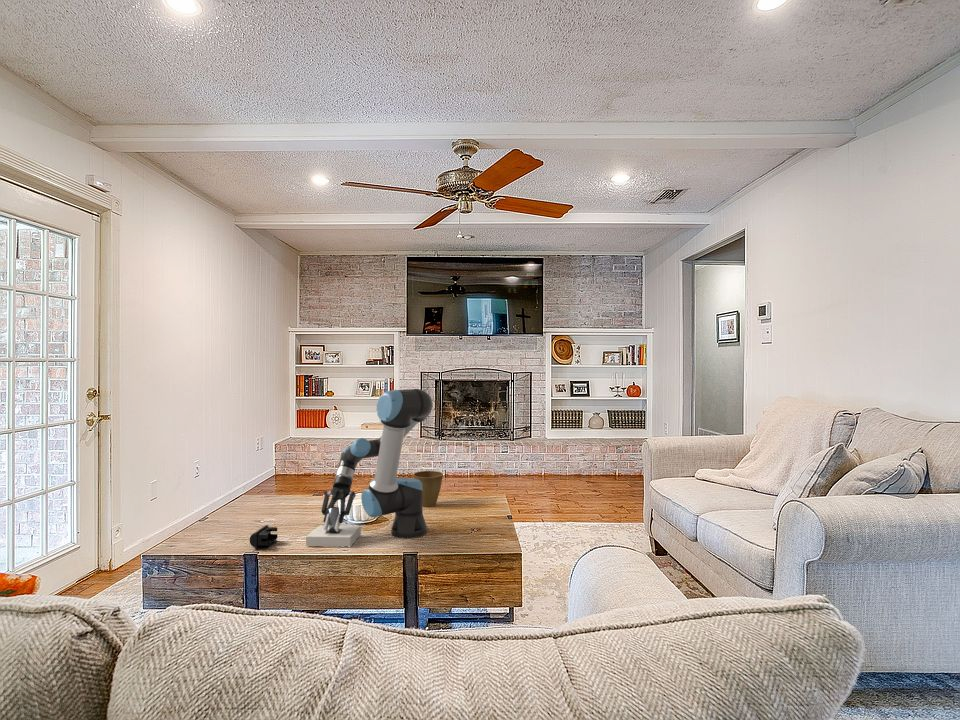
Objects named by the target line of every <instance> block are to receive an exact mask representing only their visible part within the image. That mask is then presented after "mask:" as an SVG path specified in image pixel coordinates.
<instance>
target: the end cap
mask: <svg viewBox="0 0 960 720" xmlns="http://www.w3.org/2000/svg"><path fill="white" fill-rule="evenodd" d="M272 532H278V527H277V526H272V527H271V526H269V524H266V525H264V526H262V527H261V528H259V529H258V530H256V531H255V532H253V533H252V534H251V535H250V536H249V544H250V545H251V546H252V547H253V548H254V549H255V550H269V547H270V548H271V547H272V546H273V545H275V544H276V543H277V542H278V540H277V539H278V533H277V534H276V533H274V534H273V533H272ZM274 543H275V544H274Z"/></svg>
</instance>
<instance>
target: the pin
mask: <svg viewBox="0 0 960 720" xmlns="http://www.w3.org/2000/svg"><path fill="white" fill-rule="evenodd" d="M338 514H340V507H339V506H334V507H330V508H329V534H339V530H338V532H336V530H335V525H336V521H337V517H338Z"/></svg>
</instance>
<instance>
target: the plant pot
mask: <svg viewBox="0 0 960 720" xmlns="http://www.w3.org/2000/svg"><path fill="white" fill-rule="evenodd" d="M412 475H413V476H412V477H413V479H418V480H420V481H421V482H422V489H423V491H422V508H432V507H435V506H436V504H437V502H438V498H439V496H440V492H441V488H442V483H443V476H444V473H443V472H441V471H435V470H422V471H417V472H414V473H413V474H412Z"/></svg>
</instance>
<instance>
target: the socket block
mask: <svg viewBox="0 0 960 720" xmlns="http://www.w3.org/2000/svg"><path fill="white" fill-rule="evenodd" d="M323 528H324V525H321V524H320V525H318V526H317V527H316V528H314V529H313V530H312V531H311V532H310V533H309V534H307V536H305V541H306V542H305V543H306V544H305V545H306V546H308V547H309V546H351V545H352V544H353V543H356V542H357V540H358V539H359V538H360V537H361V536H360V535H362V534H361V533H362V532H361V531H362V529H361V525H340V526H339V534H329V526H328V530H327V532H325V530H324V529H323ZM359 536H360V537H359ZM358 537H359V538H358ZM357 538H358V539H357ZM356 539H357V540H356ZM353 545H354V544H353ZM353 545H352V546H353ZM306 546H305V547H306ZM352 546H351V547H352ZM308 547H307V548H308ZM309 548H310V547H309Z"/></svg>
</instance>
